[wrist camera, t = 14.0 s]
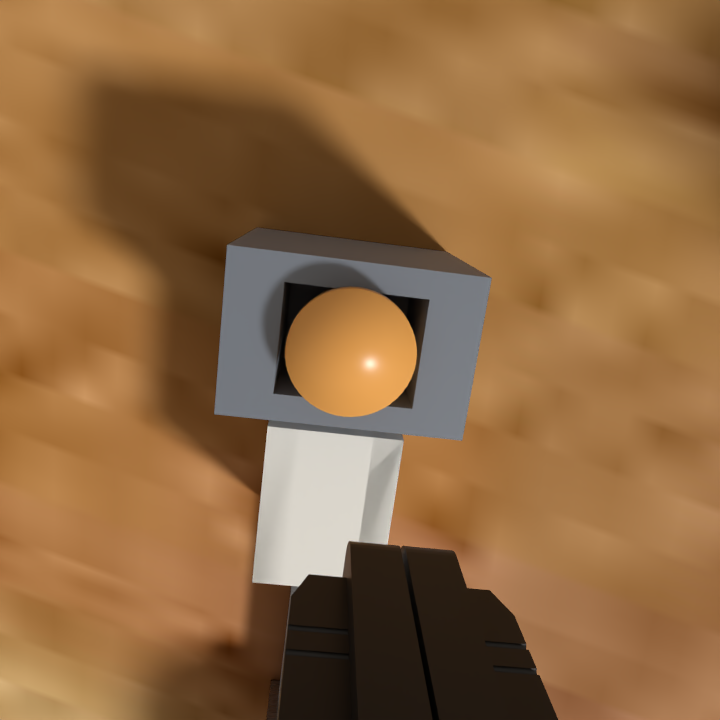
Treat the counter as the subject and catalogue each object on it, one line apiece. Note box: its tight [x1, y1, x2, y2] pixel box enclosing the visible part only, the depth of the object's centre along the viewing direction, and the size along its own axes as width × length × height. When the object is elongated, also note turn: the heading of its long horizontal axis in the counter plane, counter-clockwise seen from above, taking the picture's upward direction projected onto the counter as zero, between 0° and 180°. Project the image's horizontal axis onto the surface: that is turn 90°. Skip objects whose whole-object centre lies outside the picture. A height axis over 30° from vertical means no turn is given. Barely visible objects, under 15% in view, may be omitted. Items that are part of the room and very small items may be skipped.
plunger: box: [285, 287, 417, 417], centre depth 24 cm, size 4×4×5 cm
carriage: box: [252, 420, 404, 586], centre depth 30 cm, size 5×7×7 cm
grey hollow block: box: [214, 228, 492, 440], centre depth 27 cm, size 9×6×9 cm, turn 83°
